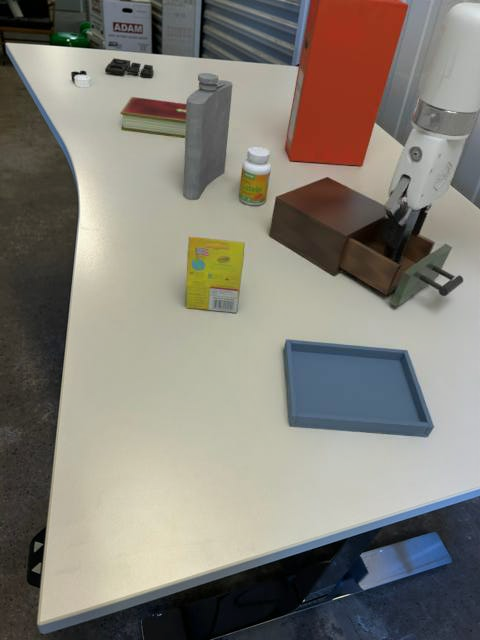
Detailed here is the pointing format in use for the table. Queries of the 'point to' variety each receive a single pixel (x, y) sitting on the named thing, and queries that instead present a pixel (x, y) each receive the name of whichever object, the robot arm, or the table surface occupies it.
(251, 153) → the supplement bottle
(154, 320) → the table surface
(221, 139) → the hip flask
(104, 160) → the table surface
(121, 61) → the black white parts set
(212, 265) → the crayon box
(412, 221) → the grey rod with base
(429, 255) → the drawer
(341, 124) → the file binder
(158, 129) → the hardcover book
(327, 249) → the cabinet
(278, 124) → the table surface
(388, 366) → the tray
